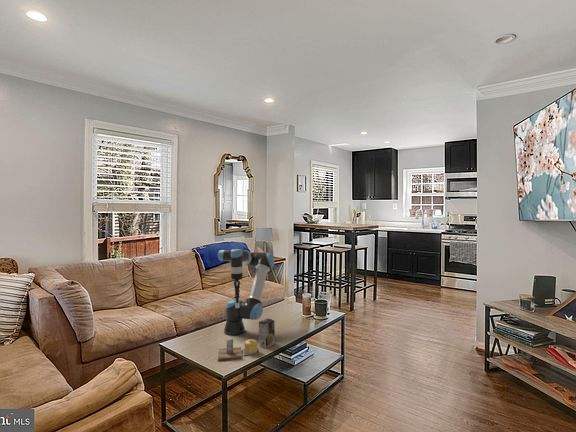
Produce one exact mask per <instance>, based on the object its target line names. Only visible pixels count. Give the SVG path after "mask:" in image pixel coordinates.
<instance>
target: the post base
mask: <svg viewBox="0 0 576 432" xmlns="http://www.w3.org/2000/svg"><path fill="white" fill-rule="evenodd" d="M242 359H243V355H242V347H241V346H238V347H234V339H233V338H227V339H226V348H219V349H218V355H217V362H222V361H236V360H242Z"/></svg>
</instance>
